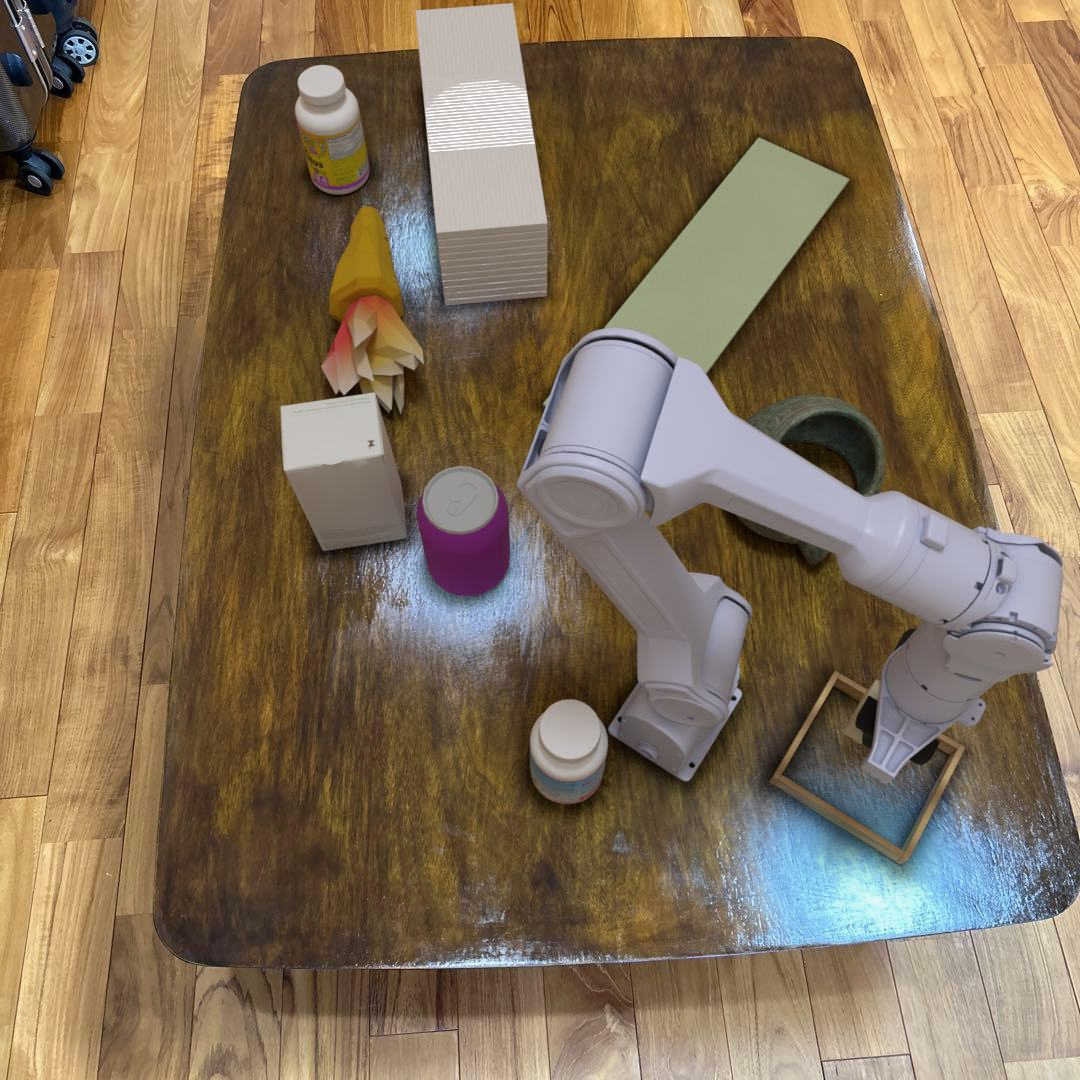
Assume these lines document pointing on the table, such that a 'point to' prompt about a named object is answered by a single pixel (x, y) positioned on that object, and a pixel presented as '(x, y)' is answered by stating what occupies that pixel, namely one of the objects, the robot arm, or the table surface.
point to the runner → (730, 253)
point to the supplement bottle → (331, 131)
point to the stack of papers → (482, 155)
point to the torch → (369, 317)
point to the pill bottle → (568, 752)
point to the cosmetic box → (343, 471)
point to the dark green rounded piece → (831, 429)
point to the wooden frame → (842, 819)
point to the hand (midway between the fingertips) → (888, 723)
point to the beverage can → (464, 531)
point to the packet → (850, 727)
